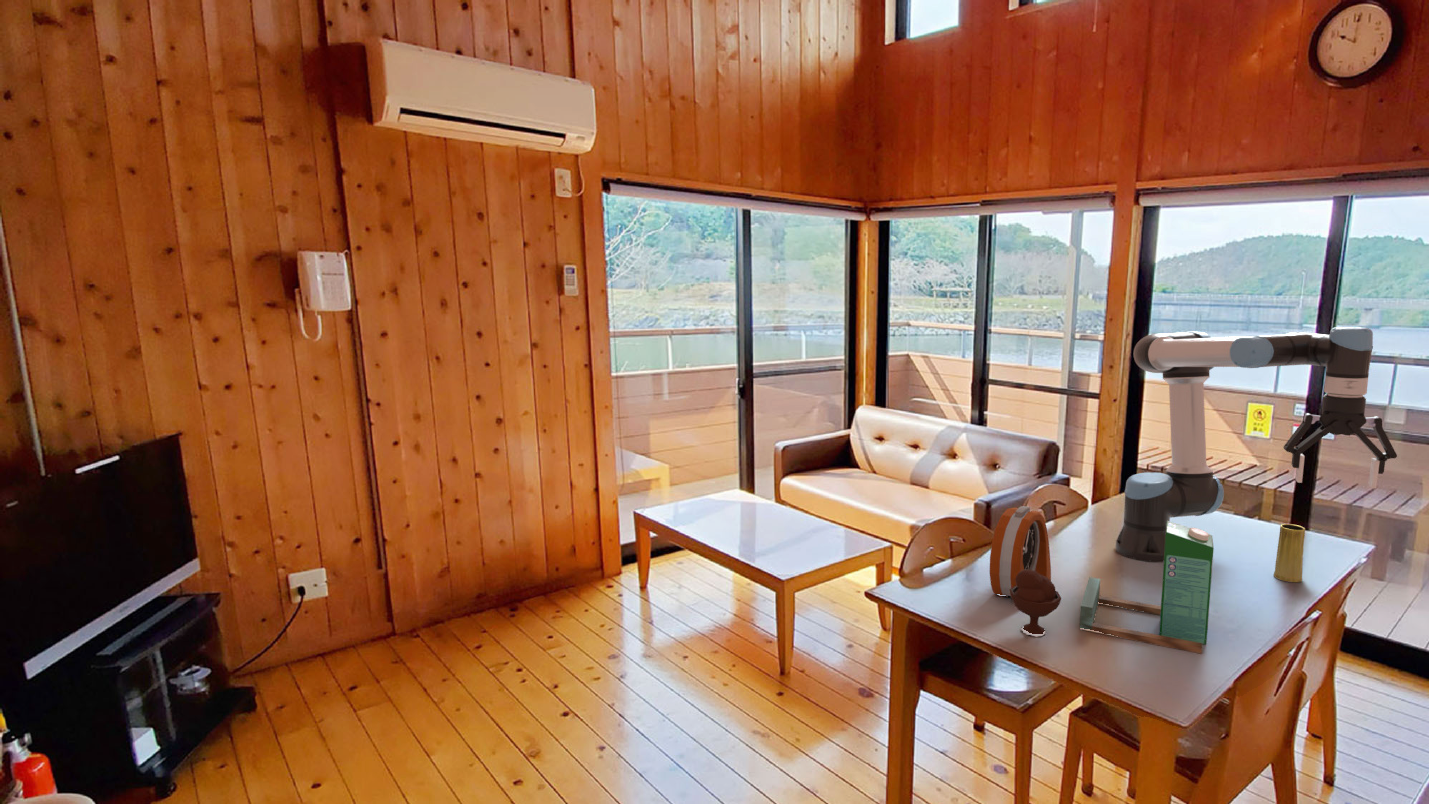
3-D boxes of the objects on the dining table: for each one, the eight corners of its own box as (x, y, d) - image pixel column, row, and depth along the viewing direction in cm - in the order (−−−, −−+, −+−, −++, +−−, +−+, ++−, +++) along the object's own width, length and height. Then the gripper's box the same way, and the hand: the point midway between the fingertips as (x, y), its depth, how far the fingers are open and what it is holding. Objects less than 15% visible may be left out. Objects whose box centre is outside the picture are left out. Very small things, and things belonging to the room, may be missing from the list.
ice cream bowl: (1035, 646, 166) (1037, 583, 164) (998, 626, 176) (1000, 567, 174) (1069, 636, 170) (1072, 574, 168) (1031, 617, 180) (1033, 558, 178)
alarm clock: (1026, 609, 185) (1029, 522, 181) (987, 599, 191) (989, 515, 188) (1056, 581, 201) (1059, 501, 197) (1019, 572, 207) (1022, 495, 204)
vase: (1307, 583, 194) (1312, 531, 191) (1280, 582, 195) (1285, 530, 193) (1294, 574, 200) (1299, 523, 197) (1268, 573, 201) (1273, 522, 199)
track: (1199, 618, 176) (1201, 595, 175) (1201, 653, 161) (1203, 627, 160) (1087, 599, 189) (1088, 577, 188) (1079, 629, 173) (1080, 605, 172)
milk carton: (1206, 645, 164) (1214, 537, 160) (1159, 636, 169) (1165, 531, 165) (1205, 628, 172) (1213, 525, 168) (1160, 620, 176) (1166, 519, 172)
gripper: (1281, 395, 172) (1272, 483, 175) (1423, 399, 161) (1410, 493, 164) (1274, 390, 178) (1266, 475, 182) (1410, 394, 167) (1398, 484, 171)
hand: (1334, 484), depth 173 cm, fingers open, 13 cm apart
